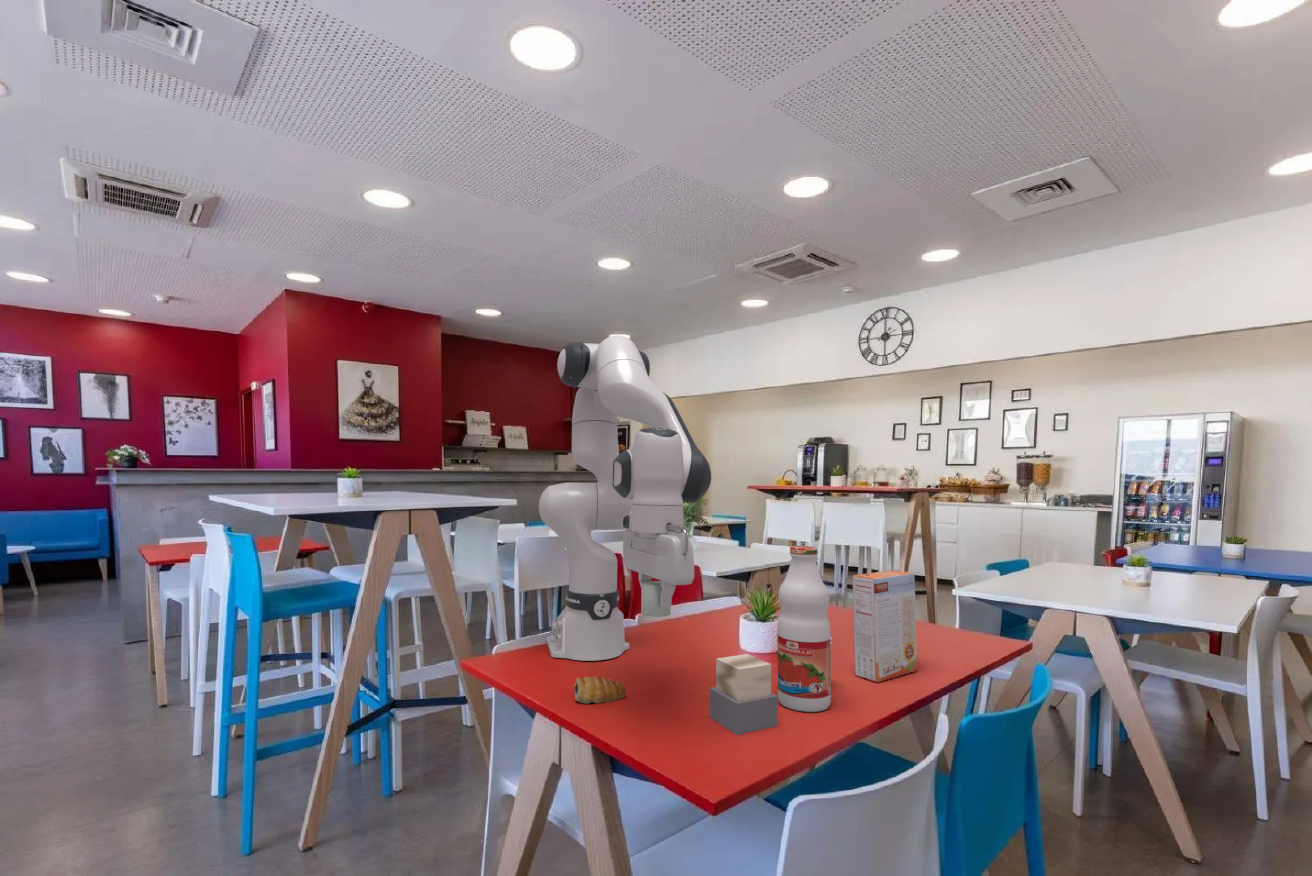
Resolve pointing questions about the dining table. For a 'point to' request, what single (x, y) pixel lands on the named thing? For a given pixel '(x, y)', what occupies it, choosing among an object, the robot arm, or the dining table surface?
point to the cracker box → (884, 625)
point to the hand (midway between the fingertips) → (656, 603)
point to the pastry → (598, 690)
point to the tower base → (743, 712)
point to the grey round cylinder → (652, 600)
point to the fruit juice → (804, 635)
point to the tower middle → (743, 677)
